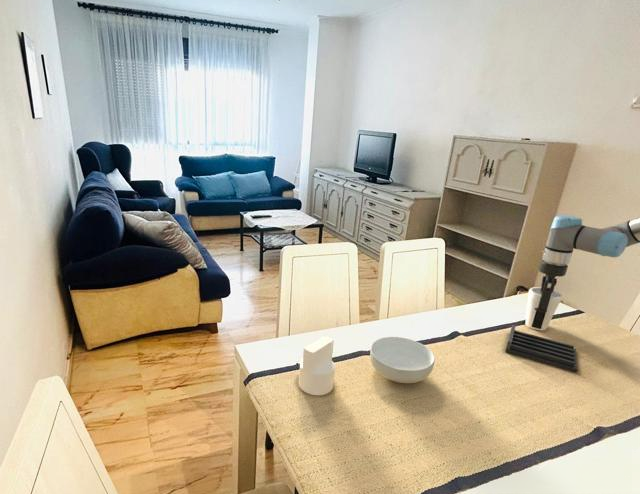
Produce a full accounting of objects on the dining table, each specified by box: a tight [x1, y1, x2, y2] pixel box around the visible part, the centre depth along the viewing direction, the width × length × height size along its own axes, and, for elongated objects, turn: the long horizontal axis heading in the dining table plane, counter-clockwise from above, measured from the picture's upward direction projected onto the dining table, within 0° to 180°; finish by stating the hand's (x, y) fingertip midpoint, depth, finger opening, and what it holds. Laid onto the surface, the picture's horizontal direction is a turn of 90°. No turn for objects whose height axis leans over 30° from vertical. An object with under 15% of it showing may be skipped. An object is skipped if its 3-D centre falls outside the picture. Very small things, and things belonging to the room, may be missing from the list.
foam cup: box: [524, 286, 563, 331], centre depth 134 cm, size 10×9×13 cm
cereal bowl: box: [369, 336, 436, 384], centre depth 105 cm, size 17×17×7 cm
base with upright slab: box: [298, 335, 336, 396], centre depth 98 cm, size 9×9×12 cm
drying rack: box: [504, 324, 578, 374], centre depth 119 cm, size 18×14×4 cm
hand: (536, 322), depth 136 cm, fingers closed on foam cup, 9 cm apart
